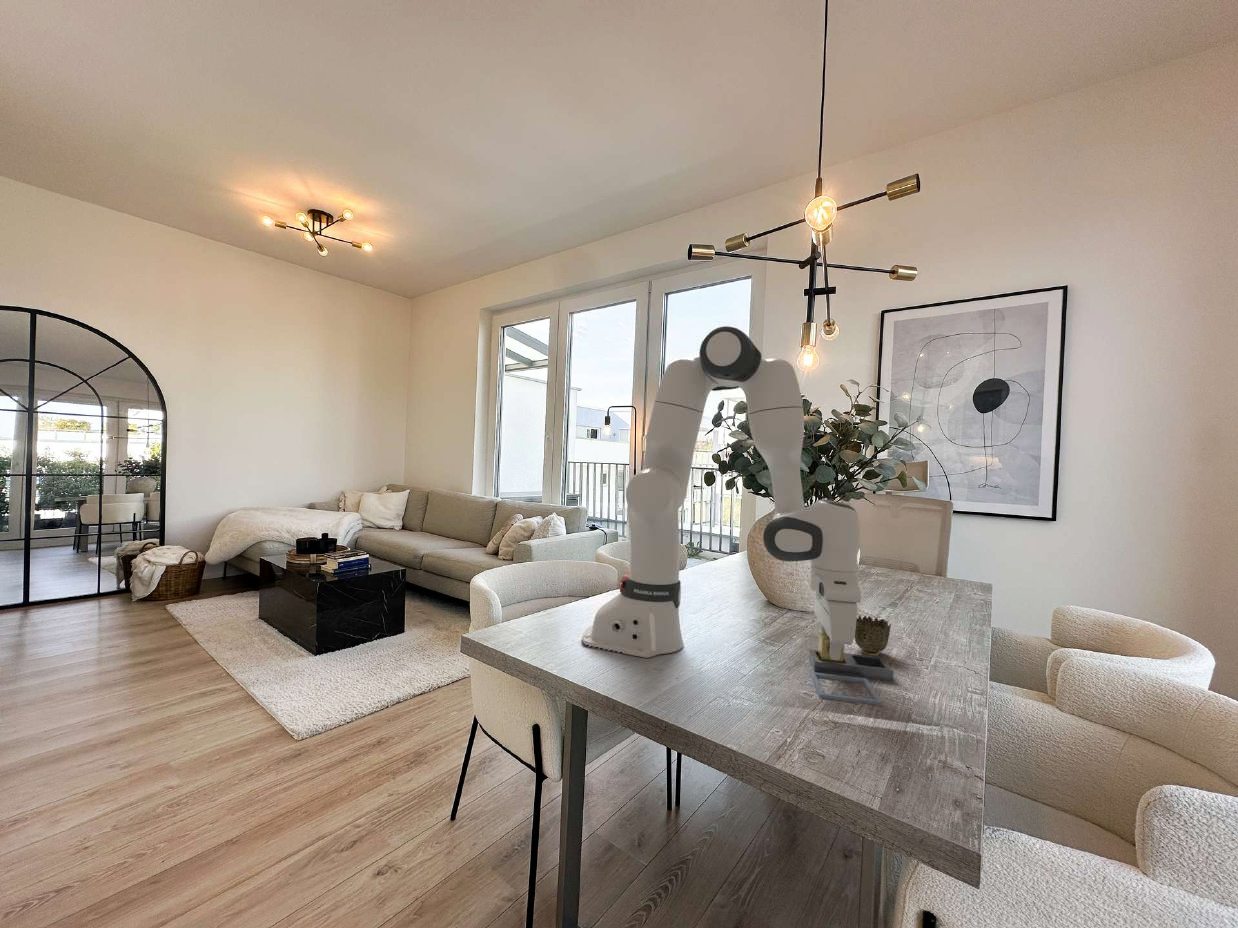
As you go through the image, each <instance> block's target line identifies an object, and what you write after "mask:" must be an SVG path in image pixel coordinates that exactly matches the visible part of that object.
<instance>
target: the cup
mask: <svg viewBox="0 0 1238 928" xmlns="http://www.w3.org/2000/svg"><path fill="white" fill-rule="evenodd" d="M888 622H889V621H887V620H885V619H884V618H881V619H879V620H878V617H877V616H876V617H875V618H874V619H873V618H872V616H868V617H867V616H866V615H864V616H863V617H862V616H861V615H859V616H858V617H857V620H856V629H855V636H854V642H855V644H856V646H858V647H859V648H860V649H861V650H860V652H861V653H862V654H865V655H866V656H875V657H879V656H880V652H883V651H884V650H885V649H886V648H887V645H888V642H889V639H890V632H891V627H892V624H891V623H888Z"/></svg>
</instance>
